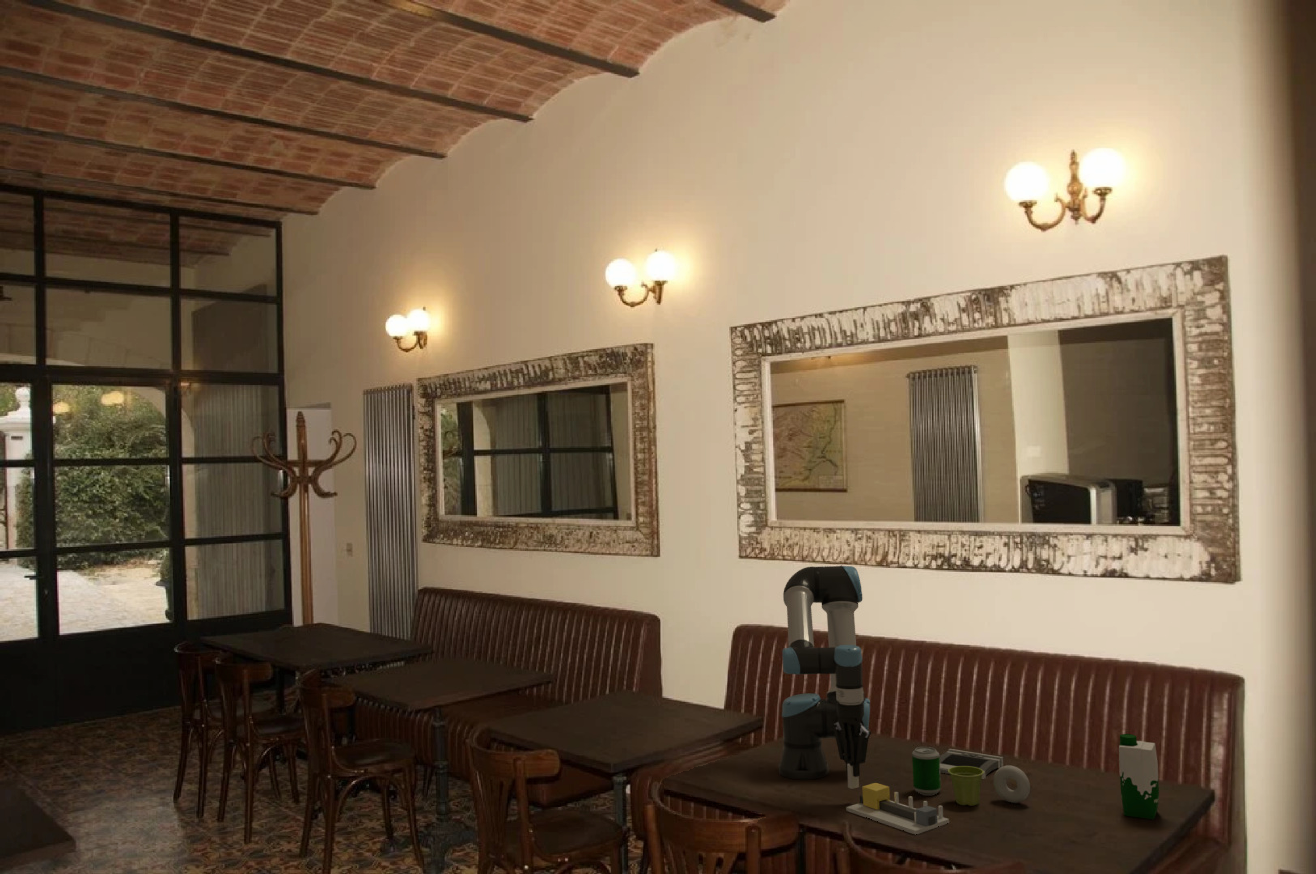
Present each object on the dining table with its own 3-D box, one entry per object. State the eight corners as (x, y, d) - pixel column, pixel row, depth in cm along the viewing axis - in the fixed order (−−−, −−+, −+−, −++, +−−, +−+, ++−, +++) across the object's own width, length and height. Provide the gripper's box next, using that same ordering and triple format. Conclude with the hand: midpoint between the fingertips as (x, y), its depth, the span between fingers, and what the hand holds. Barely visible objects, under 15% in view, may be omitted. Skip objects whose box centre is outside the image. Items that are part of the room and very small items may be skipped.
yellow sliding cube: (863, 805, 277) (862, 786, 277) (876, 801, 280) (875, 782, 280) (876, 809, 272) (876, 791, 273) (890, 805, 276) (889, 787, 276)
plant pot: (967, 810, 273) (965, 778, 274) (942, 801, 282) (940, 769, 282) (992, 804, 278) (991, 772, 278) (967, 795, 286) (965, 764, 286)
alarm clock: (1002, 757, 311) (981, 765, 299) (1003, 772, 311) (981, 781, 298) (950, 748, 322) (926, 756, 310) (950, 763, 322) (926, 772, 310)
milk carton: (1124, 806, 272) (1120, 731, 273) (1161, 811, 268) (1157, 734, 268) (1119, 816, 265) (1115, 739, 266) (1158, 821, 260) (1154, 742, 261)
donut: (1032, 804, 276) (1031, 767, 277) (1028, 807, 274) (1026, 770, 274) (997, 797, 283) (995, 761, 283) (992, 801, 280) (990, 764, 281)
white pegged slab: (846, 811, 276) (845, 793, 276) (879, 800, 284) (878, 784, 284) (915, 835, 257) (914, 816, 257) (949, 823, 264) (948, 805, 264)
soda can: (941, 796, 285) (940, 753, 286) (914, 796, 287) (912, 753, 287) (940, 788, 293) (938, 746, 293) (913, 787, 294) (911, 745, 294)
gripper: (823, 700, 287) (827, 784, 286) (857, 708, 276) (861, 796, 275) (842, 696, 291) (846, 779, 290) (876, 703, 281) (880, 790, 280)
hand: (853, 787), depth 283 cm, fingers closed
